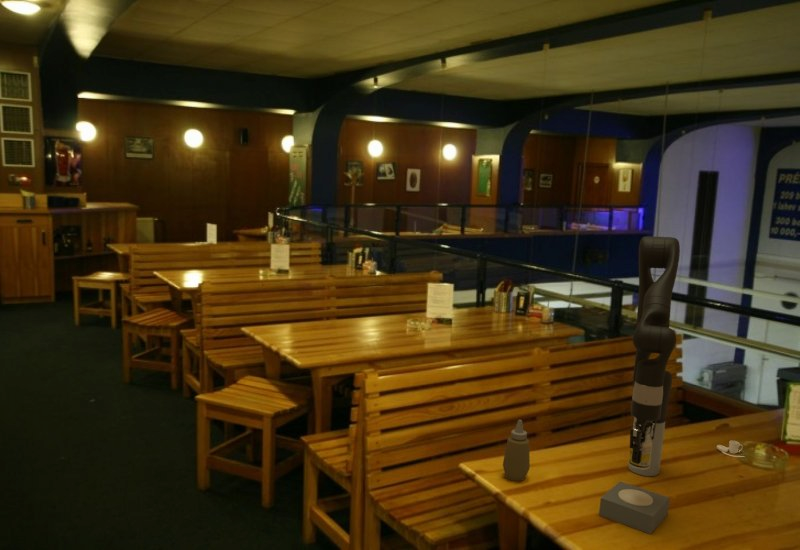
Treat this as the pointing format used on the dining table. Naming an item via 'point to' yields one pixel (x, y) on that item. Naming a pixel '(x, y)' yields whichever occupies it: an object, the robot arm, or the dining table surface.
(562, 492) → the dining table surface
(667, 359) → the robot arm
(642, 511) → the charcoal stand
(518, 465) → the squeeze bottle
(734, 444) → the teacup and saucer
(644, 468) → the supplement bottle
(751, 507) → the dining table surface
